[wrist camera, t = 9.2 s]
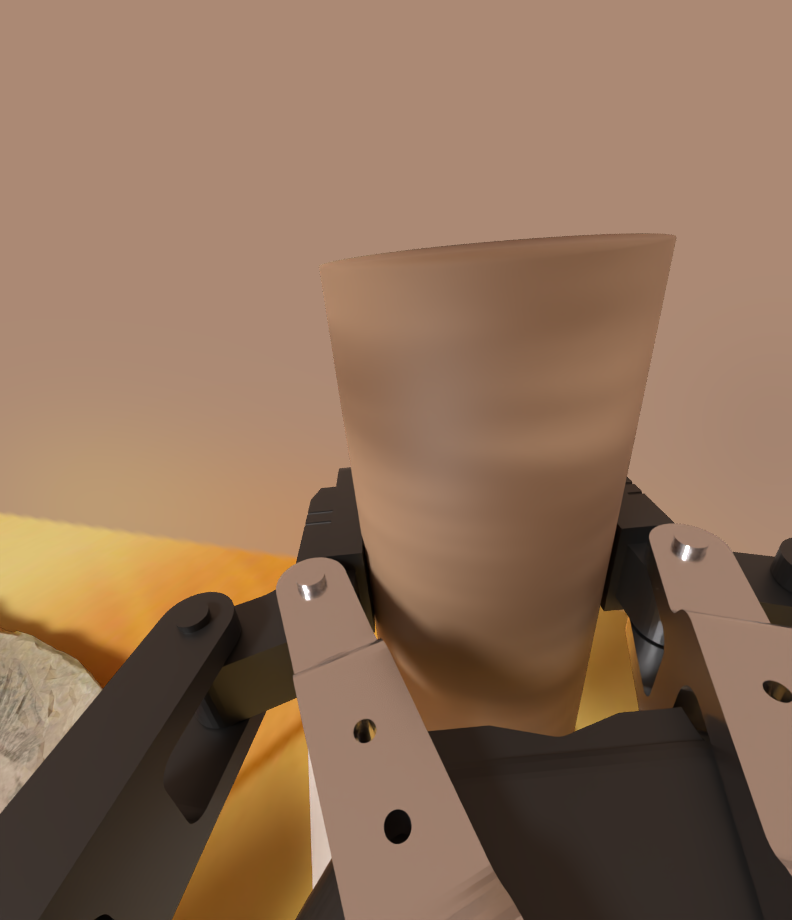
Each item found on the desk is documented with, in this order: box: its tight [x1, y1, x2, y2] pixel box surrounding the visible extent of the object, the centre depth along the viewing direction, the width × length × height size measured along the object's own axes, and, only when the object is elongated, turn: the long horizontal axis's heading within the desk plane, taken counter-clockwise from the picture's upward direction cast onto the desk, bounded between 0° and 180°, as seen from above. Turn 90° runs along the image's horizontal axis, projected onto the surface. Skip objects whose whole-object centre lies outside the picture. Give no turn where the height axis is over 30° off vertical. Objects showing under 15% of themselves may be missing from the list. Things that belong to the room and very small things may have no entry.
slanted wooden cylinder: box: [319, 233, 676, 737], centre depth 10 cm, size 5×5×14 cm
